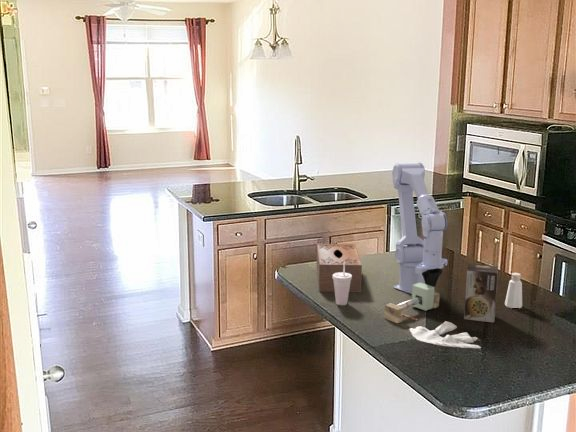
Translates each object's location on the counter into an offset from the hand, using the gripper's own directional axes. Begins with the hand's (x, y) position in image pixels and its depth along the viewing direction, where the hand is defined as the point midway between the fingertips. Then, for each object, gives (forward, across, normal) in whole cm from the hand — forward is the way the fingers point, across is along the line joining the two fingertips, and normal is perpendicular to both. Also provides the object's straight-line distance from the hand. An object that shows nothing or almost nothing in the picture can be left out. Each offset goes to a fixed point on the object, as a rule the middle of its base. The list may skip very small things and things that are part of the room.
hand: (430, 290), depth 197 cm
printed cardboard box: (+6, +4, -16) cm, 17 cm away
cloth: (+6, -14, -18) cm, 24 cm away
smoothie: (+5, -20, +20) cm, 29 cm away
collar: (+5, -4, 0) cm, 6 cm away
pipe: (+3, -9, 0) cm, 9 cm away
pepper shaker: (+5, +21, -18) cm, 28 cm away
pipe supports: (+5, -9, 0) cm, 10 cm away
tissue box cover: (+6, -4, +38) cm, 38 cm away
